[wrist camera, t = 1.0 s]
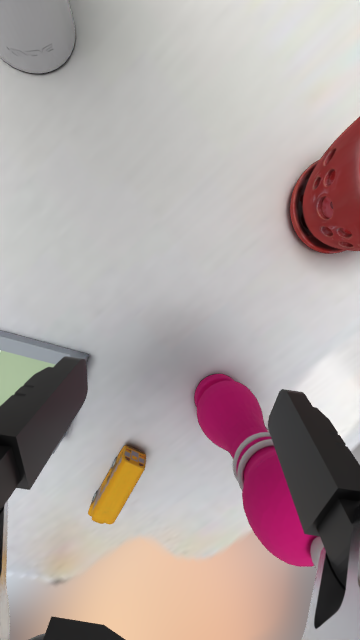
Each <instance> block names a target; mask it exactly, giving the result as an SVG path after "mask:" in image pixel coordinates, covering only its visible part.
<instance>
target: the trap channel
mask: <svg viewBox="0 0 360 640" xmlns="http://www.w3.org/2000/svg"><path fill="white" fill-rule="evenodd" d="M0 350H1V351H0V406H1V405H2V404H3V403H4V402H5V401H6V400H7V399H8V398H10V397H11V396H12V395H14V394H15V392H16V391H17V390H18V389H19V388H20V387H21V386H24V383H26V382H27V381H28V380H29V379H30V378H31V377H32V376H33V375H34V374H36V373H38V372H39V371H41V370H43V369H45V368H47V367H54V366H55V365H56V364H57V363H58V362H59V361H60V360H61V359H62V358H63V357H65V356H68V357H75V358H82V359H85V361H86V363H87V360H88V357H89V354H86V353H82V352H79V351H75V350H71V349H68V348H64V347H60V346H57V345H53V344H49V343H45V342H42V341H38V340H34V339H31V338H27V337H23V336H20V335H16V334H12V333H9V332H5V331H1V330H0ZM64 435H65V434H64ZM64 435H63V437H62V439H63V438H64ZM62 439H61V440H60V442H61V441H62ZM60 442H59V443H58V445H57V447H58V446H59V444H60ZM57 447H56V448H55V450H56V449H57ZM55 450H54V451H53V453H54V452H55Z"/></svg>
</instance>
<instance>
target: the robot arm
mask: <svg viewBox="0 0 360 640" xmlns="http://www.w3.org/2000/svg"><path fill="white" fill-rule="evenodd" d="M75 37H76V35H75V24H74V20H73V16H72V12H71V8H70V5H69V1H68V0H0V58H1V59H2V60H4V61H5V62H7V63H8V64H9V65H11V66H12V67H15V68H17V69H19V70H21V71H25V72H29V73H46V72H51V71H53V70H55V69H57V68H59V67H60V66H61V65H62V64H64V63H65V62H66V60H67V59H68V58H69V56H70V55H71V52H72V50H73V47H74V43H75ZM87 390H88V385H87V367H86V361H85V359H82V358H75V357H68V356H65V357H63V358H62V359H61V360H60V361H59V362H58V363H57V364H56V365H55V366H54V367H47V368H45V369H43V370H41V371H39V372H38V373H36V374H34V375H33V376H32V377H31V378H30V379H29V380H28V381H27V382H26V383H24V386H21V387H20V388H19V389H18V390H17V391H16V392H15V394H14V395H12V396H11V397H10V398H8V399H7V400H6V401H5V402H4V403H3V404H2V405H1V406H0V640H9V639H10V634H9V633H10V619H9V617H10V616H9V602H8V595H7V587H6V561H7V523H8V501H7V500H8V499H9V497H10V496H11V494H12V493H13V491H14V490H15V488H22V489H28V490H30V488H31V487H32V485H33V484H34V482H35V480H36V479H37V477H38V476H39V474H40V472H41V471H42V469H43V468H44V466H45V464H46V463H47V461H48V460H49V458H50V456H51V455H52V453H53V451H54V450H55V448H56V447H57V445H58V443H59V442H60V440H61V439H62V437H63V435H64V434H65V432H66V431H67V429H68V427H69V426H70V424H71V423H72V421H73V419H74V418H75V416H76V415H77V413H78V411H79V410H80V408H81V407H82V405H83V403H84V401H85V399H86V395H87ZM268 427H269V433H270V436H271V439H272V441H273V444H274V447H275V450H276V453H277V456H278V459H279V462H280V464H281V467H282V470H283V473H284V476H285V479H286V482H287V485H288V488H289V490H290V493H291V496H292V499H293V502H294V505H295V508H296V511H297V513H298V516H299V519H300V522H301V525H302V528H303V531H304V534H307V535H313V536H320V538H321V540H322V543H323V545H324V547H323V549H322V550H321V553H320V558H319V563H318V568H317V573H316V578H315V584H314V589H313V594H312V599H311V604H310V609H309V614H308V620H307V624H306V629H305V632H304V635H303V637H302V640H360V465H359V464H358V462H357V461H356V459H355V457H354V456H353V454H352V453H351V451H350V450H349V448H348V447H346V446H345V443H344V441H343V440H342V438H341V437H340V435H338V432H337V431H336V429H335V428H334V426H333V425H332V423H331V422H330V420H329V419H328V418H327V417H326V416H325V415H324V414H323V413H321V412H320V411H319V410H318V409H317V408H315V407H313V406H312V405H311V403H310V402H309V400H308V399H307V397H306V395H305V394H304V393H302V392H298V391H291V390H284V389H282V390H281V391H280V392H279V394H278V396H277V399H276V401H275V404H274V406H273V409H272V411H271V414H270V416H269V421H268ZM29 640H125V639H124V638H122V637H121V636H119V635H118V634H116V633H115V632H113V631H112V630H110V629H109V628H107V627H106V626H105V625H100V624H95V623H88V622H82V621H76V620H70V619H63V618H57V617H51V620H50V622H49V625H48V628H47V630H46V633H45V634H42V635H38V636H36V637H34V638H31V639H29Z"/></svg>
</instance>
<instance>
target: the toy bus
mask: <svg viewBox="0 0 360 640" xmlns="http://www.w3.org/2000/svg"><path fill="white" fill-rule="evenodd" d="M145 463H146V454H145V453H143V452H141V451H139V450H137V449H135V448H132V447H130V446H128V445H125V446H124V447H123V448H122V450H121V451H120V453H119V455H118V457H116V458H115V460H114V462H113V465H112V467H111V469H110V470H109V472H108V474H107V476H106V478H105V479H104V481H103V483H102V485H101V486H100V488H99V490H98V491H97V492H96V493H95V495H94V497H93V500H92V503H91V505H90V508H89V511H88V514H89V515H90V516H92V520H93V521H95V522H98V523H101V524H103V523H107V524H113V523H114V521H115V520H116V518H117V516H118V515H119V513H120V511H121V510H122V508H123V506H124V504H125V502H126V501H127V499H128V497H129V495H130V494H131V492H132V490H133V488H134V487H135V485H136V483H137V482H138V480H139V478H140V476H141V474H142V473H143V471H144V469H145Z"/></svg>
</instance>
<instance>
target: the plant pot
mask: <svg viewBox="0 0 360 640" xmlns="http://www.w3.org/2000/svg"><path fill="white" fill-rule="evenodd" d="M290 214H291V221H292V224H293V227H294V230H295V232H296V233H297V235H298V236H299V238H300V239H301V240H302V242H304V243H305V244H306V245H307V246H308V247H310V248H312V249H313V250H315V251H318V252H322V253H339V252H342V251H345V250H350V251H360V117H359V118H358V119H357V120H356V121H354V122H353V123H352V124H351V125H350V126H349V127H348V128H347V129H346V130H345V131H344V132H343V133H342V134H341V135H340V136H339V137H338V138H337V139H336V140H335V141H334V143H333V144H332V145H331V146H330V147H329V148H328V150H327V151H326V152H325V153H324V155H323V156H322V157H321V159H320V160H318V161H317V162H315V163H313V164H312V165H311V166H310V167H308V168H307V169H306V170H305V171H304V173H303V174H302V175H301V176H300V178H299V179H298V181H297V183H296V185H295V187H294V190H293V193H292V197H291V204H290Z"/></svg>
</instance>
